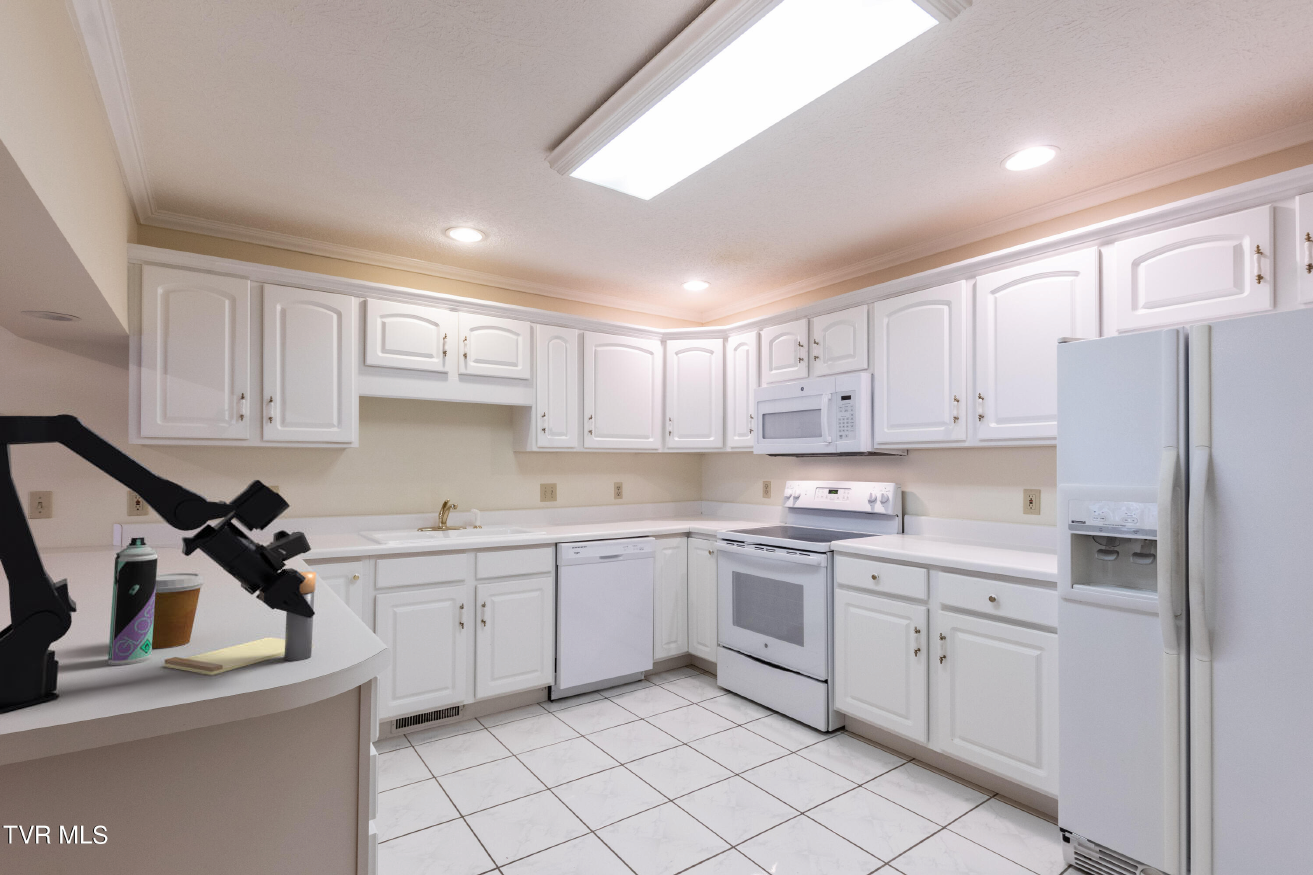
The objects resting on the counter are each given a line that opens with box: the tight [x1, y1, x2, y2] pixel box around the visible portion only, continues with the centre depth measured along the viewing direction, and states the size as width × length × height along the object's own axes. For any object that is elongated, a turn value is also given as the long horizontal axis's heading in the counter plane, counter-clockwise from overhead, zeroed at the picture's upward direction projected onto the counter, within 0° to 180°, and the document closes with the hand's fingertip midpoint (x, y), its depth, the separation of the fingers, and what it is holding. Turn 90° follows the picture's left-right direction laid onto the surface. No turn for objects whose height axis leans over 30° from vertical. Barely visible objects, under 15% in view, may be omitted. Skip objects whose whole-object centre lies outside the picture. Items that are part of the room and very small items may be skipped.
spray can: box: [107, 537, 158, 666], centre depth 105 cm, size 6×6×20 cm
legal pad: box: [164, 636, 314, 676], centre depth 108 cm, size 18×11×1 cm, turn 159°
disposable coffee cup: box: [152, 572, 205, 649], centre depth 115 cm, size 10×10×12 cm
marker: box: [283, 571, 317, 662], centre depth 108 cm, size 4×4×14 cm
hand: (309, 613), depth 109 cm, fingers closed on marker, 4 cm apart
